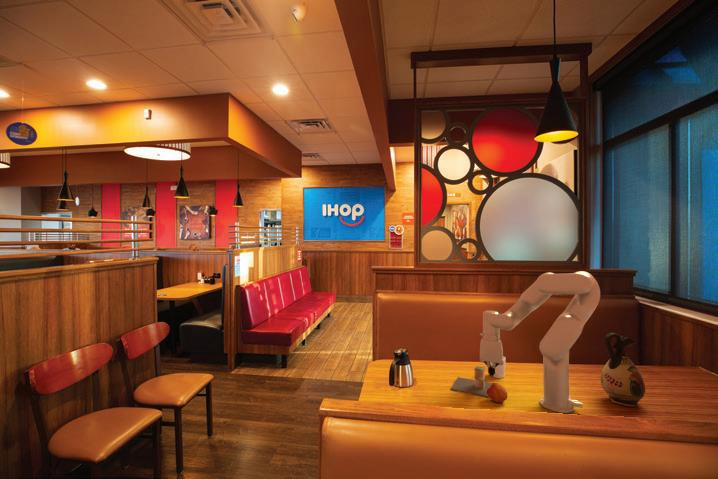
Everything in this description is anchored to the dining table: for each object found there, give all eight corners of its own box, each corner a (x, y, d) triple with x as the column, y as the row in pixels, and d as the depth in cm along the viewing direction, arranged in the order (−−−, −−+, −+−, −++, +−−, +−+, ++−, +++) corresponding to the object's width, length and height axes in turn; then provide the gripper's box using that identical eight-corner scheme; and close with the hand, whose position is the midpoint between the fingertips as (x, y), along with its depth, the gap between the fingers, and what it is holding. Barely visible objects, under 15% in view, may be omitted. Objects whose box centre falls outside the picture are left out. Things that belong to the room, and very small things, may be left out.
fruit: (494, 395, 153) (493, 378, 153) (510, 402, 147) (510, 384, 147) (484, 400, 148) (483, 382, 149) (501, 407, 142) (500, 388, 142)
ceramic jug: (624, 393, 154) (623, 328, 155) (655, 409, 139) (653, 338, 139) (589, 394, 154) (587, 329, 154) (616, 411, 138) (614, 338, 139)
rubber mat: (494, 384, 165) (494, 383, 165) (490, 397, 151) (490, 396, 151) (457, 378, 173) (457, 376, 173) (450, 389, 159) (450, 388, 159)
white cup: (486, 374, 178) (486, 355, 178) (497, 372, 181) (497, 353, 182) (498, 379, 171) (497, 360, 171) (509, 377, 174) (508, 358, 174)
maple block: (484, 385, 162) (484, 367, 162) (483, 389, 159) (483, 370, 159) (476, 384, 164) (476, 365, 164) (474, 387, 161) (474, 368, 161)
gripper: (473, 336, 160) (474, 375, 159) (507, 341, 152) (507, 381, 152) (476, 333, 166) (476, 370, 166) (509, 337, 159) (509, 375, 159)
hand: (491, 375), depth 159 cm, fingers closed
